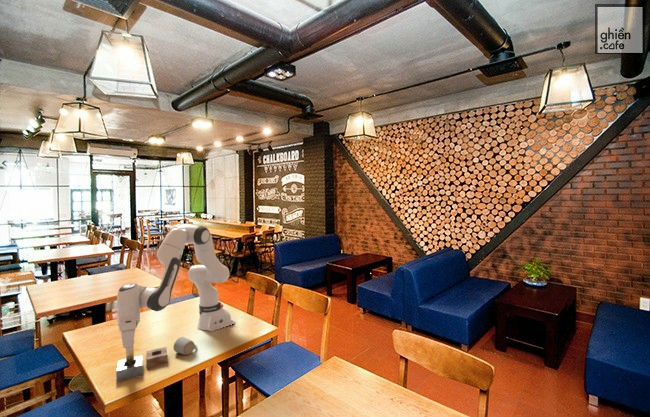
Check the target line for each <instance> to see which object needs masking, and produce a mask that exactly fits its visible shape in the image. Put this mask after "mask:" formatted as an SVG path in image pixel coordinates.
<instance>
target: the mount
mask: <svg viewBox="0 0 650 417" xmlns="http://www.w3.org/2000/svg"><path fill="white" fill-rule="evenodd" d="M145 352H146V353H145V354H146V355H145V361H146V364H145V365H146V366H145V368H151V367H155V366H159V365H162V364H163V365H164V364H166V363H168V348H167V346H164V347H160V348H159V347H158V348H155V349H150V350H146V351H145Z"/></svg>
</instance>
